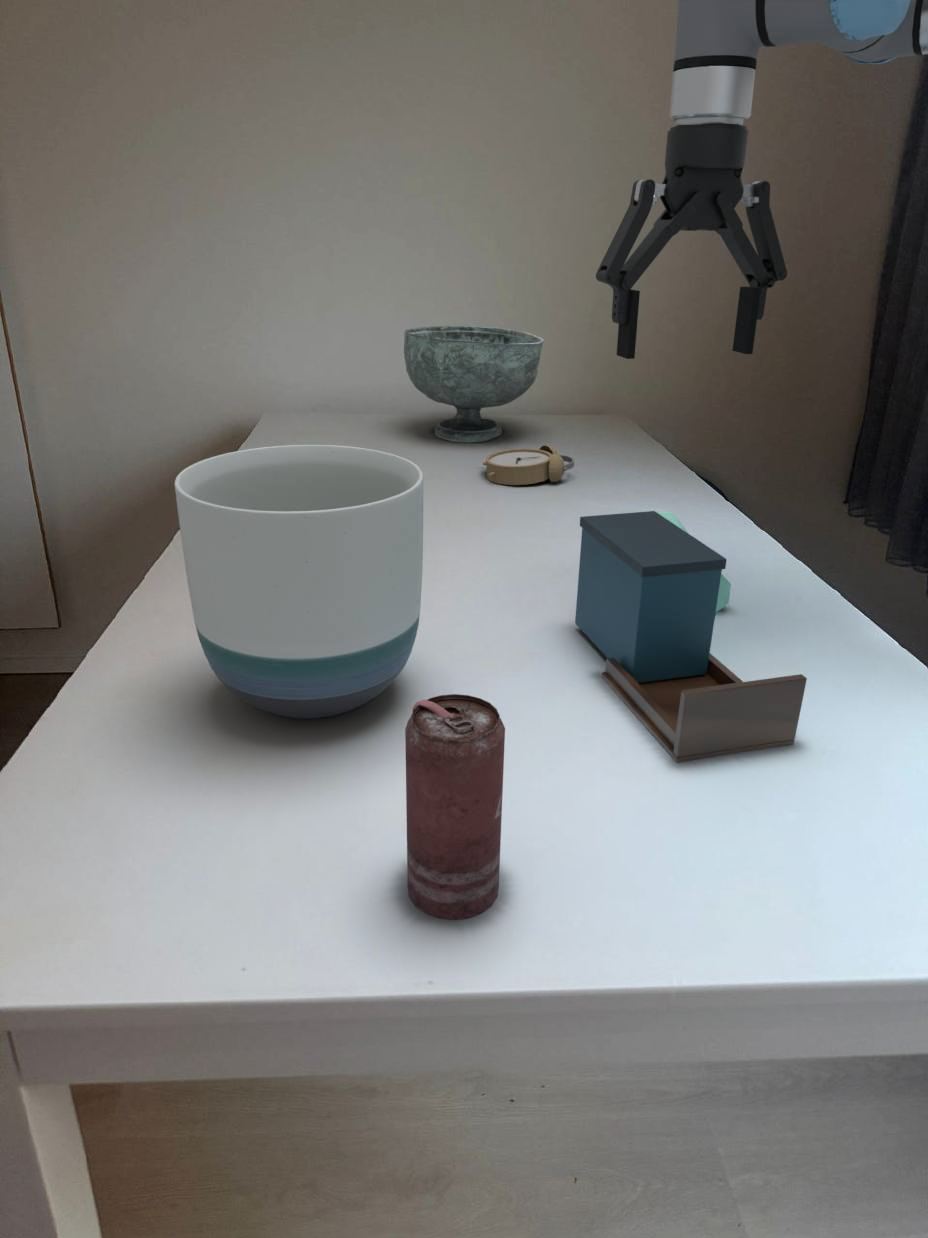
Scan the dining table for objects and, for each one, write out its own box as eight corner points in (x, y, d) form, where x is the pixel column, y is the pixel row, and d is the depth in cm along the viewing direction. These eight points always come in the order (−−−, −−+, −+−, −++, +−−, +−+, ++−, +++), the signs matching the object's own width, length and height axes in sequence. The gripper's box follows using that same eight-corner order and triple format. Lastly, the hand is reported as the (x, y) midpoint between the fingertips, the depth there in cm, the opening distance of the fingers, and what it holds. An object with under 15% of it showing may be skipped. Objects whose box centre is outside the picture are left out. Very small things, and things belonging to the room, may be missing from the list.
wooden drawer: (600, 681, 88) (606, 616, 85) (702, 667, 91) (712, 604, 88) (675, 768, 75) (685, 694, 72) (793, 749, 78) (807, 678, 75)
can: (430, 852, 65) (430, 680, 59) (512, 880, 62) (520, 703, 56) (387, 905, 60) (382, 724, 54) (474, 938, 57) (479, 751, 51)
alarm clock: (479, 452, 156) (564, 435, 156) (484, 479, 158) (568, 463, 158) (488, 469, 146) (579, 452, 146) (493, 498, 148) (582, 481, 148)
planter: (177, 675, 88) (149, 459, 79) (370, 633, 97) (364, 435, 88) (239, 783, 72) (213, 528, 63) (462, 721, 81) (467, 490, 72)
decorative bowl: (374, 428, 181) (376, 324, 172) (467, 413, 197) (473, 318, 189) (463, 460, 164) (470, 346, 155) (557, 441, 180) (568, 337, 172)
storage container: (572, 622, 98) (580, 516, 93) (643, 614, 100) (654, 510, 95) (630, 685, 85) (642, 567, 80) (709, 675, 87) (726, 558, 82)
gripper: (798, 130, 92) (768, 345, 101) (571, 123, 86) (560, 353, 95) (846, 124, 86) (809, 355, 95) (603, 116, 80) (588, 364, 88)
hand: (684, 354), depth 95 cm, fingers open, 13 cm apart
